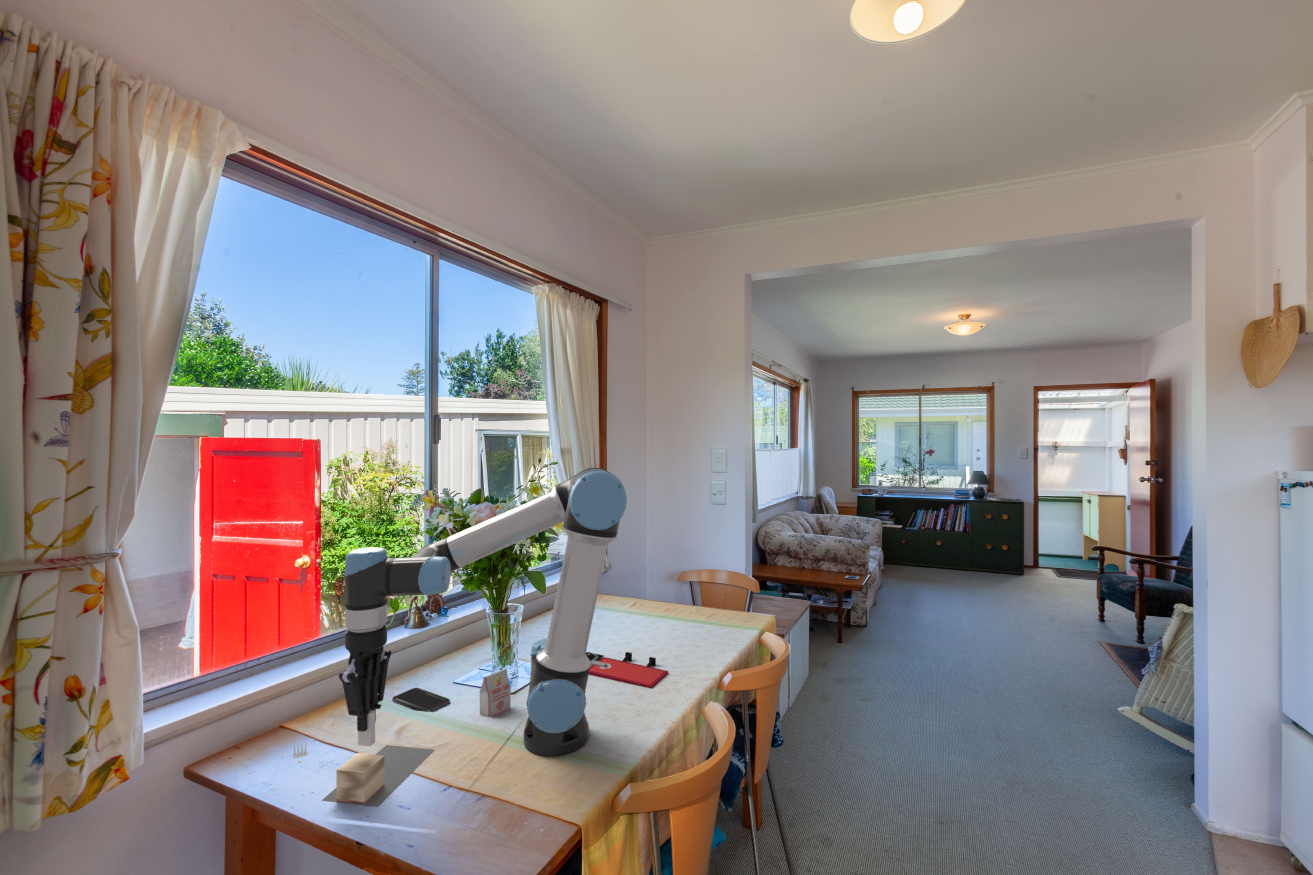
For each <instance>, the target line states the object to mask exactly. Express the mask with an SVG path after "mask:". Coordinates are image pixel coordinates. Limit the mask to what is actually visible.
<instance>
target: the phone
mask: <svg viewBox="0 0 1313 875" xmlns="http://www.w3.org/2000/svg"><path fill="white" fill-rule="evenodd" d="M392 702H393V703H396V704H399V705H400V706H403V707H406V708H408V709H411V710H412V711H416V712H417V711H418V712H427V713H433V712H436V711H437V710H440V709H442V708H443V707H445V706H447V705H448V706H449V705H450V703H451V700H450V698H448V697H445V696H443V695H439V694H436V693H434V692H431V691H429V690H425V689H423V688H420V687H413V688H410V689H407V690H406V691H404V692H401V693H398V694H397V695H394V696H392Z"/></svg>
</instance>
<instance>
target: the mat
mask: <svg viewBox="0 0 1313 875" xmlns="http://www.w3.org/2000/svg"><path fill="white" fill-rule="evenodd" d="M434 752H435V749H433V748H432V749H431V748H421V747H413V746H401V745H393V744H392V745H391V744H386V745H384V746H383V747H382V748H381V749H380V750H379V751H377V753H375V754H374V755H383V756H384V786H383V787H382V788H381V789H380V790H379V791H378V792H377V793H376V794H375V795H374V796H373V797H371V798H370V799H369V800H368V801H367V802H366V803H365V804H359V803H351V802H343V801H337V790H336V787H335V788H334V789H333V790H332V791H331V792H329V793H328V794H327V795H326V796H325V797H324V798H323V799H321V802H322V801H323V802H331V803H340V804H341V803H342V804H348V805H349V804H350V805H358V806H365V807H375V808H378V807H380V805H381V804H383V803H384V802H385V801H386V799H388V797H389V796H391V794H393V793H394V791H396V789H398V788H399V787H400V786H401V785H402V783H403V782H405V780H407V779H408V778H409V777H410V775H412V773H414V771H416V770H417V769H418V768H419V767H420V766H421V765H422V764H423V763H424V762H425V761H426V760H427V759H428V757H429V756H430V755H432V754H433V753H434Z"/></svg>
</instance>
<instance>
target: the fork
mask: <svg viewBox="0 0 1313 875" xmlns="http://www.w3.org/2000/svg"><path fill="white" fill-rule="evenodd" d="M295 746H296V745H293V759H298V758H302V757H307V756H308V752H307V751H308V750H307V743H306V742H304V749H303V745H300V746H301V747H299V745H297V755H296V747H295ZM300 748H301V751H300ZM300 752H301V754H300ZM303 761H304V759H301V760H298V761H297V763H300V764H301V763H302V762H303Z"/></svg>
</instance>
